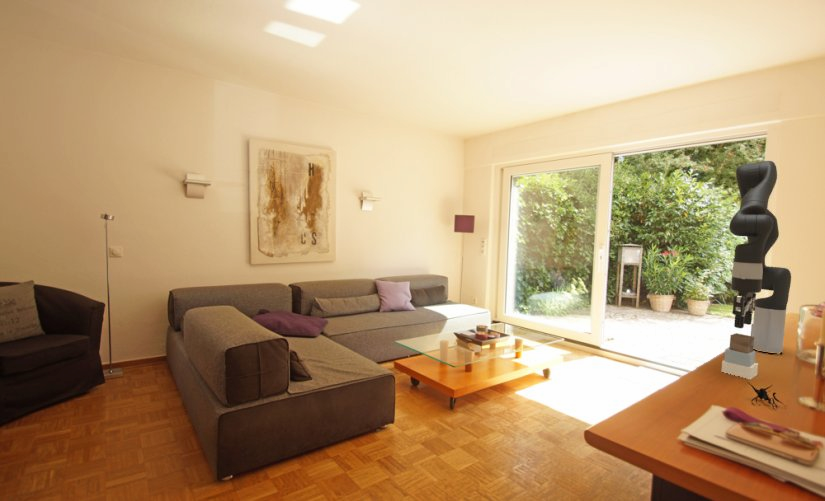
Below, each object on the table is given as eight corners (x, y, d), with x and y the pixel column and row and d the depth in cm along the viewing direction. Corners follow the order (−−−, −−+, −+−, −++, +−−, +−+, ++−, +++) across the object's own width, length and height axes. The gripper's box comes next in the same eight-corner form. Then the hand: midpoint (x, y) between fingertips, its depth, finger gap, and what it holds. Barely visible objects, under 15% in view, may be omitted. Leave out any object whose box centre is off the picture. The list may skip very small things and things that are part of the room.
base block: (729, 368, 137) (729, 357, 137) (757, 375, 131) (758, 363, 131) (721, 372, 133) (722, 361, 132) (750, 380, 126) (751, 367, 126)
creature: (791, 416, 104) (772, 397, 112) (796, 399, 103) (777, 380, 110) (756, 412, 106) (740, 394, 114) (761, 395, 105) (744, 377, 112)
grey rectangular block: (730, 357, 136) (731, 346, 136) (754, 363, 131) (755, 351, 131) (724, 361, 132) (725, 349, 132) (749, 367, 127) (750, 354, 127)
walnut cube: (735, 347, 134) (736, 333, 134) (753, 351, 130) (754, 336, 130) (729, 349, 132) (730, 335, 131) (747, 353, 128) (748, 338, 127)
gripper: (739, 273, 136) (735, 320, 138) (725, 276, 128) (721, 326, 129) (767, 276, 131) (763, 325, 132) (755, 279, 122) (751, 331, 123)
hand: (742, 325), depth 130 cm, fingers open, 8 cm apart
